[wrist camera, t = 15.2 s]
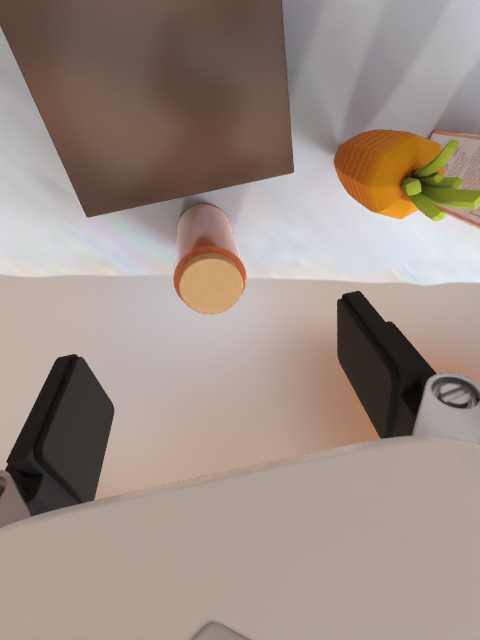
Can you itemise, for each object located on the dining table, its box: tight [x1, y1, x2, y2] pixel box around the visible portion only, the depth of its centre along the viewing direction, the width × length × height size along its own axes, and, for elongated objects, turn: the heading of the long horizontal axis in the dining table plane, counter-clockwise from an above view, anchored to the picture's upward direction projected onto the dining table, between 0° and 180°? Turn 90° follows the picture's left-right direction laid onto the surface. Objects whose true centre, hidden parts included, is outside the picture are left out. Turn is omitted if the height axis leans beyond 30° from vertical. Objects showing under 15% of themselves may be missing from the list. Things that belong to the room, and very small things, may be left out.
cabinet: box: [0, 0, 294, 217], centre depth 20 cm, size 16×14×8 cm
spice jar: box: [174, 204, 247, 314], centre depth 26 cm, size 5×5×11 cm
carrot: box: [334, 130, 480, 221], centre depth 22 cm, size 5×5×15 cm
